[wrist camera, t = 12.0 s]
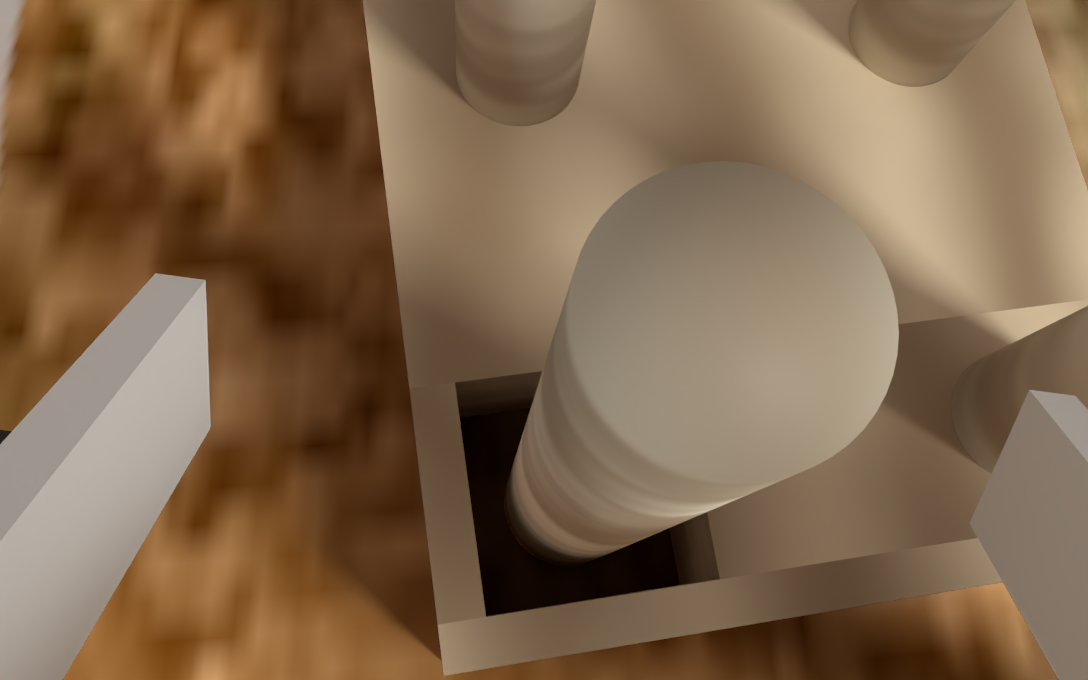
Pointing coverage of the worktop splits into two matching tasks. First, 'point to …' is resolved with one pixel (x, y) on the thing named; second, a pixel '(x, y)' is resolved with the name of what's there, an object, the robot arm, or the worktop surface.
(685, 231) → the stool leg
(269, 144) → the worktop surface
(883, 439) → the stool
